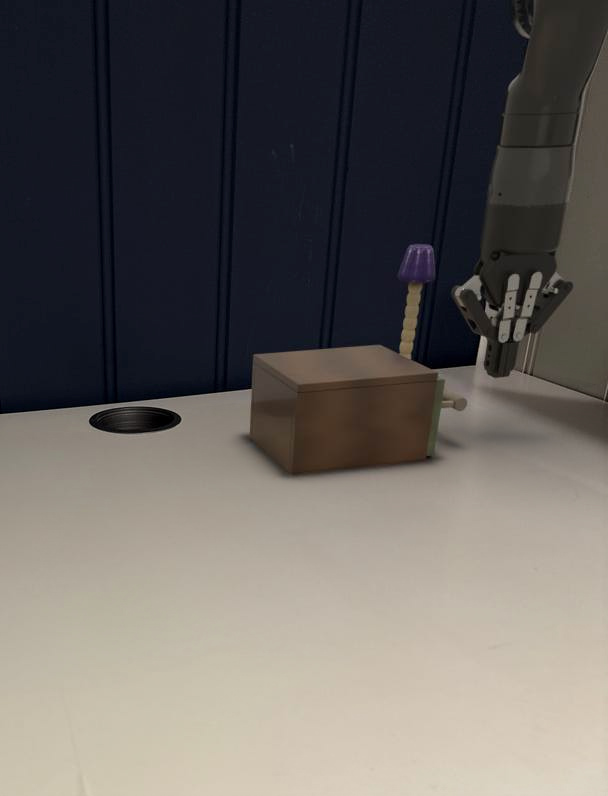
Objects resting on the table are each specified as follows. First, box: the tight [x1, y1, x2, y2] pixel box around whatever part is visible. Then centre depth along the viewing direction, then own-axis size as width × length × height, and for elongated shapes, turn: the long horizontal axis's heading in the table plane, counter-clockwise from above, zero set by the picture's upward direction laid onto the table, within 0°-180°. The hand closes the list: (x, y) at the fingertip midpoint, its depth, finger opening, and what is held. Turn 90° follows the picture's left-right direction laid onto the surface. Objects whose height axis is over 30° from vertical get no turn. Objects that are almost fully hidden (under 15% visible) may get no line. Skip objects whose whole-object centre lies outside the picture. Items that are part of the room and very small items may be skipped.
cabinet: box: [249, 344, 439, 476], centre depth 97 cm, size 15×13×10 cm
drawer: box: [426, 375, 468, 457], centre depth 97 cm, size 18×11×8 cm, turn 103°
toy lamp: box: [397, 243, 436, 360], centre depth 121 cm, size 5×5×17 cm
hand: (497, 375), depth 99 cm, fingers closed
